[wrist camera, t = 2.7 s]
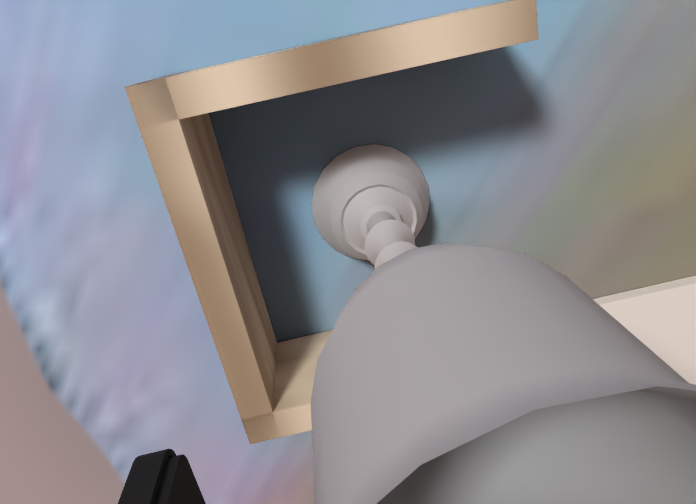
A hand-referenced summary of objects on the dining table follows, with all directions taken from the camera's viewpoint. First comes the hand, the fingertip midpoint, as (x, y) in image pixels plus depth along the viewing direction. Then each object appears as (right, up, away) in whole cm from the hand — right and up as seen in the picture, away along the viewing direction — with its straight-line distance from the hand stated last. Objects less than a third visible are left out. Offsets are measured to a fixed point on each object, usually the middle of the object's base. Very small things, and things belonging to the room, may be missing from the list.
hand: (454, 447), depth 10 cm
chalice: (-1, +6, +13) cm, 14 cm away
